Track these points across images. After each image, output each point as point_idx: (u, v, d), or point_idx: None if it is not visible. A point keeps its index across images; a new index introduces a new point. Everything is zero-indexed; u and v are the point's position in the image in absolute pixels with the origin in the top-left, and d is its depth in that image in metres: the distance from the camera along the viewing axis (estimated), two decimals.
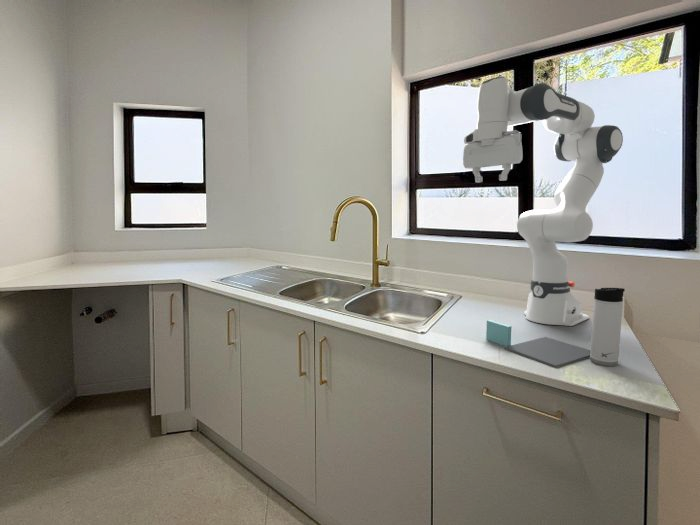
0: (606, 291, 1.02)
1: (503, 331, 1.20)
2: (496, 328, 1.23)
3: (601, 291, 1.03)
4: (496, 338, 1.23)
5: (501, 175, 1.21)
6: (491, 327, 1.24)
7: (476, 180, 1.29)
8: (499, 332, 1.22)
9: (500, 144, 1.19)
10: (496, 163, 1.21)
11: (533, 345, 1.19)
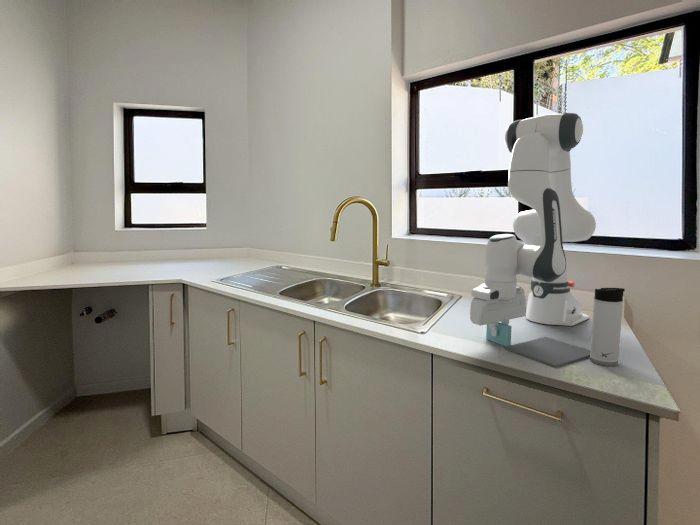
0: (606, 291, 1.02)
1: (503, 331, 1.20)
2: None
3: (601, 291, 1.03)
4: (496, 338, 1.23)
5: None
6: None
7: (497, 334, 1.22)
8: (499, 332, 1.22)
9: (515, 300, 1.22)
10: (511, 318, 1.23)
11: (533, 345, 1.19)
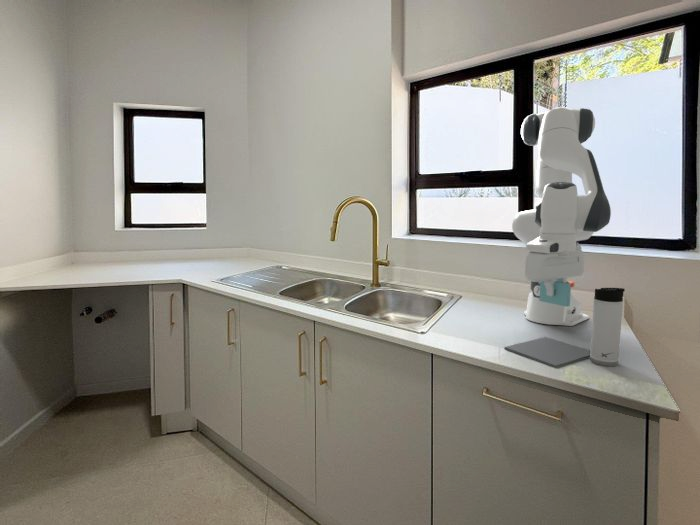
0: (606, 291, 1.02)
1: (561, 289, 1.09)
2: None
3: (601, 291, 1.03)
4: (552, 298, 1.11)
5: None
6: None
7: (553, 294, 1.10)
8: (556, 291, 1.10)
9: (573, 256, 1.11)
10: (569, 276, 1.11)
11: (533, 345, 1.19)
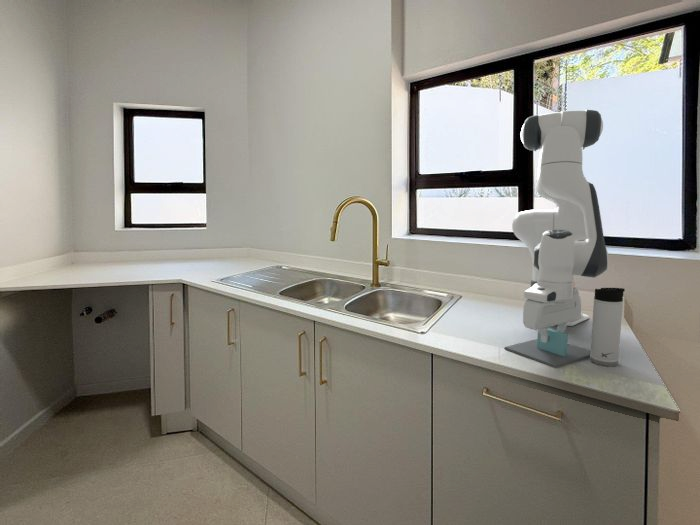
0: (606, 291, 1.02)
1: (558, 339, 1.11)
2: (550, 336, 1.13)
3: (601, 291, 1.03)
4: (549, 346, 1.13)
5: None
6: None
7: (547, 340, 1.11)
8: (553, 340, 1.12)
9: (571, 302, 1.12)
10: (566, 321, 1.13)
11: (533, 345, 1.19)
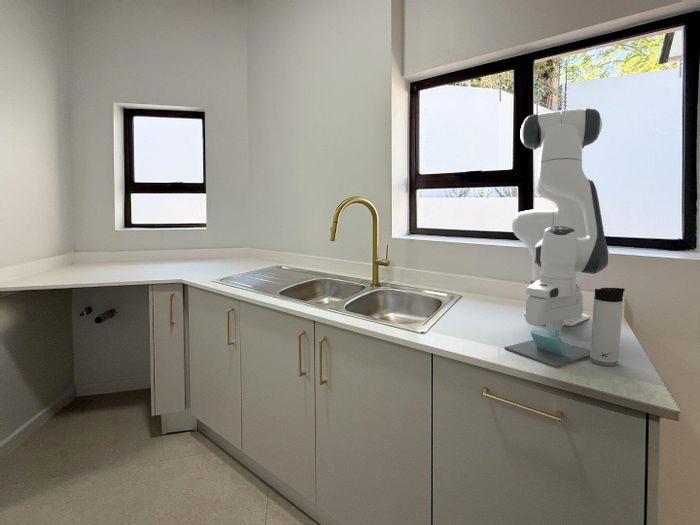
0: (606, 291, 1.02)
1: (553, 343, 1.10)
2: (544, 340, 1.12)
3: (601, 291, 1.03)
4: (548, 348, 1.13)
5: (559, 331, 1.13)
6: (538, 338, 1.13)
7: (555, 335, 1.12)
8: (549, 343, 1.11)
9: (573, 298, 1.12)
10: (568, 318, 1.13)
11: (533, 345, 1.19)
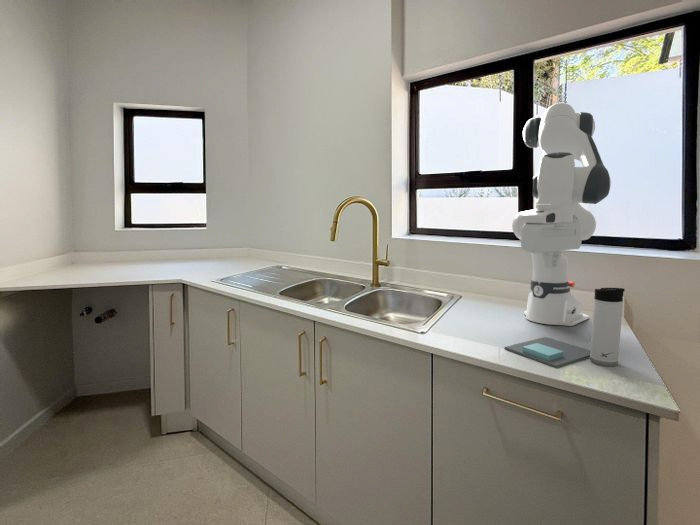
0: (606, 291, 1.02)
1: None
2: None
3: (601, 291, 1.03)
4: None
5: (556, 262, 1.09)
6: None
7: (552, 266, 1.08)
8: None
9: (571, 228, 1.09)
10: (566, 249, 1.09)
11: None
